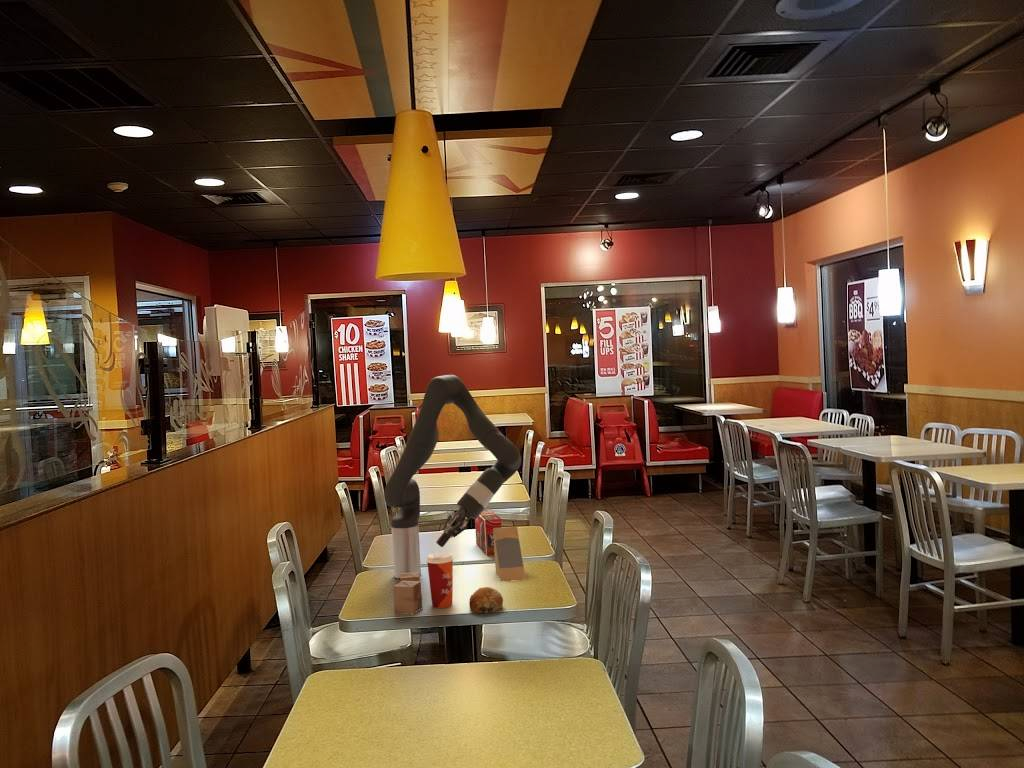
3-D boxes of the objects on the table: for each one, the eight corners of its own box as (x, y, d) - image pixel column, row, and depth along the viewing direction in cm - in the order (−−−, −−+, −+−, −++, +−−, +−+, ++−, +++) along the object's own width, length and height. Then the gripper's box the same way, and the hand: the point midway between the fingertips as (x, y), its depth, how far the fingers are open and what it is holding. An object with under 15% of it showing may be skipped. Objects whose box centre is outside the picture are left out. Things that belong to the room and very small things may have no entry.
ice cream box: (476, 544, 325) (474, 511, 325) (492, 542, 327) (490, 509, 326) (486, 555, 306) (484, 520, 306) (502, 553, 307) (501, 518, 307)
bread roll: (506, 619, 241) (510, 591, 244) (492, 613, 232) (496, 585, 235) (476, 616, 245) (480, 589, 248) (461, 610, 237) (465, 582, 239)
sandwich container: (500, 582, 268) (498, 537, 267) (494, 571, 283) (492, 527, 282) (526, 580, 269) (524, 534, 268) (519, 568, 284) (517, 525, 284)
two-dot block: (401, 598, 255) (399, 572, 254) (420, 597, 255) (419, 571, 255) (401, 604, 249) (399, 577, 248) (420, 602, 249) (419, 576, 249)
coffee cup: (452, 609, 240) (449, 558, 240) (425, 609, 242) (422, 558, 242) (459, 601, 249) (456, 551, 248) (433, 600, 250) (430, 552, 250)
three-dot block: (403, 607, 246) (402, 580, 245) (422, 608, 244) (420, 580, 243) (394, 613, 240) (393, 585, 240) (413, 614, 238) (412, 586, 238)
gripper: (459, 489, 254) (423, 533, 250) (474, 494, 242) (436, 541, 238) (477, 504, 256) (441, 548, 252) (491, 510, 244) (454, 557, 240)
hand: (439, 545), depth 245 cm, fingers closed
